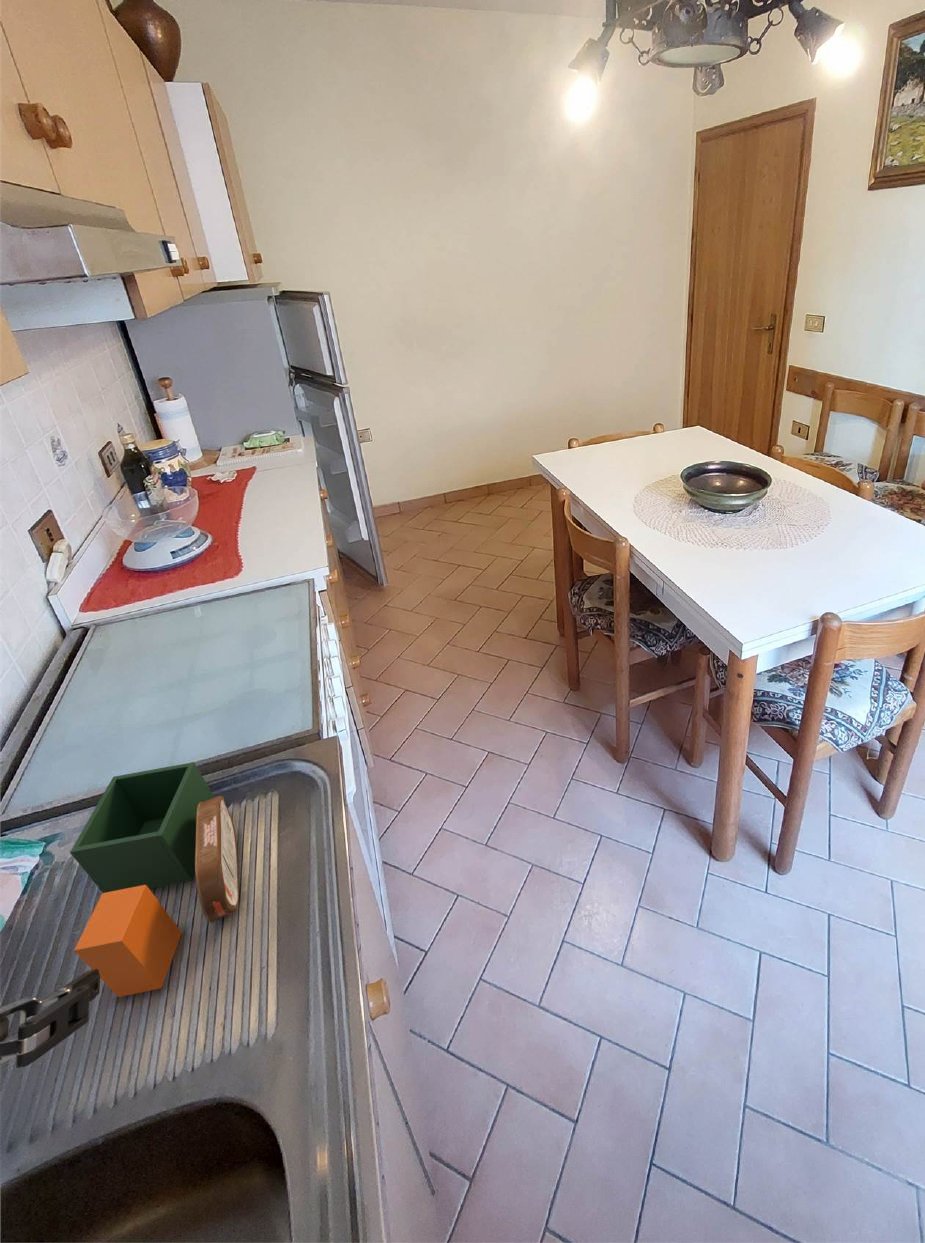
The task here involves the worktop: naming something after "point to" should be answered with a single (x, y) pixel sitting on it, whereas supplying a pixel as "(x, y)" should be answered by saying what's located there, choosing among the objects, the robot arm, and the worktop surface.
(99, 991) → the robot arm
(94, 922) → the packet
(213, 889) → the tin
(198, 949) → the worktop surface
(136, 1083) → the worktop surface
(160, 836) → the waste bin
